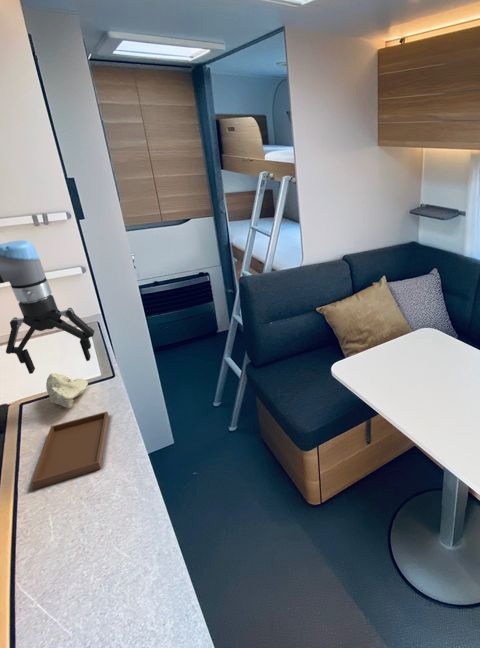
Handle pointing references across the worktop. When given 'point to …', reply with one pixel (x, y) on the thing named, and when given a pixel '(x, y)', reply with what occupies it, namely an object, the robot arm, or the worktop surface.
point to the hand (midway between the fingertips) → (61, 364)
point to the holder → (72, 450)
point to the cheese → (64, 389)
